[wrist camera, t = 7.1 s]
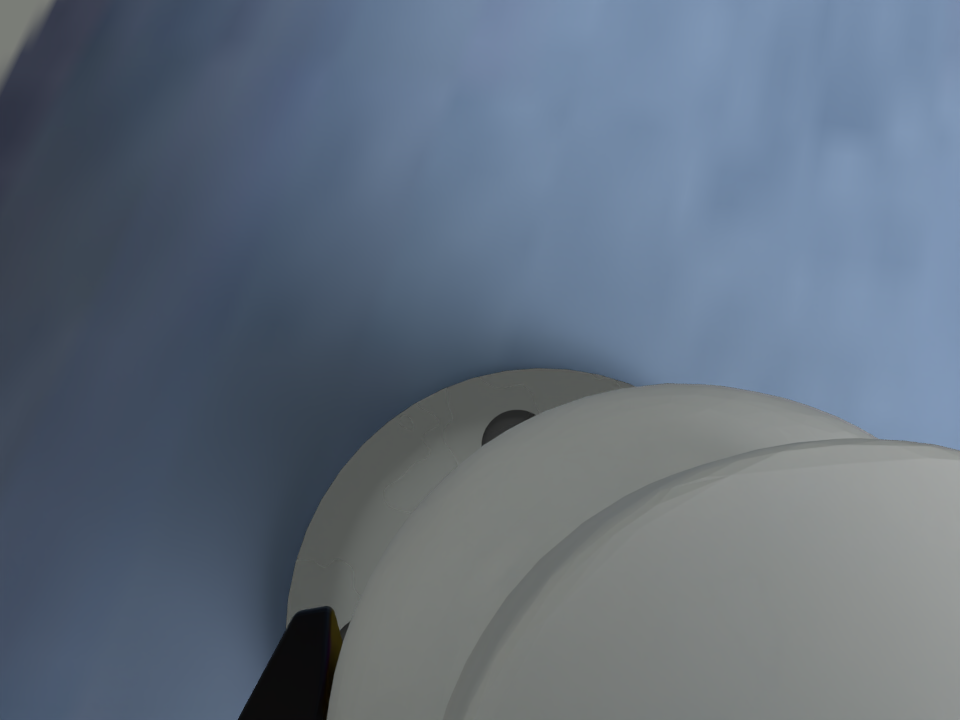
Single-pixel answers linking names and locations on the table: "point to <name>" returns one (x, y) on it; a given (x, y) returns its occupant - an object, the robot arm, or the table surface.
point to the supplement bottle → (669, 572)
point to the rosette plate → (414, 475)
